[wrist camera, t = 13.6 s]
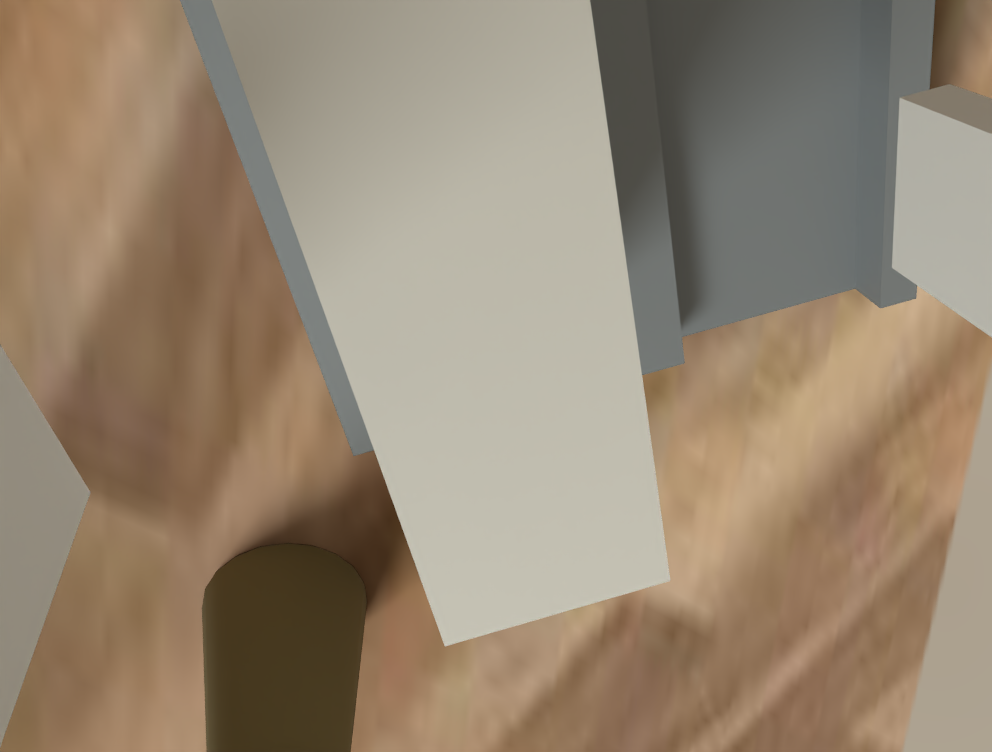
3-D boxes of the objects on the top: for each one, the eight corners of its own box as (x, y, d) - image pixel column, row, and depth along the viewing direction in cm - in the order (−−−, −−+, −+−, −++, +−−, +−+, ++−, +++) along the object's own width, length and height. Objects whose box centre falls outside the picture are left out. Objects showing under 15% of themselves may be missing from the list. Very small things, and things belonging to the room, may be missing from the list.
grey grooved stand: (350, 412, 29) (353, 455, 26) (89, -295, 18) (60, -315, 16) (872, 267, 29) (916, 298, 27) (897, -488, 19) (969, -532, 17)
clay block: (395, 346, 26) (445, 646, 16) (226, -184, 19) (125, -238, 9) (535, 308, 27) (670, 580, 17) (423, -232, 19) (543, -338, 9)
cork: (235, 677, 34) (205, 985, 25) (176, 569, 31) (115, 877, 21) (384, 636, 34) (410, 925, 25) (341, 525, 31) (352, 809, 22)
